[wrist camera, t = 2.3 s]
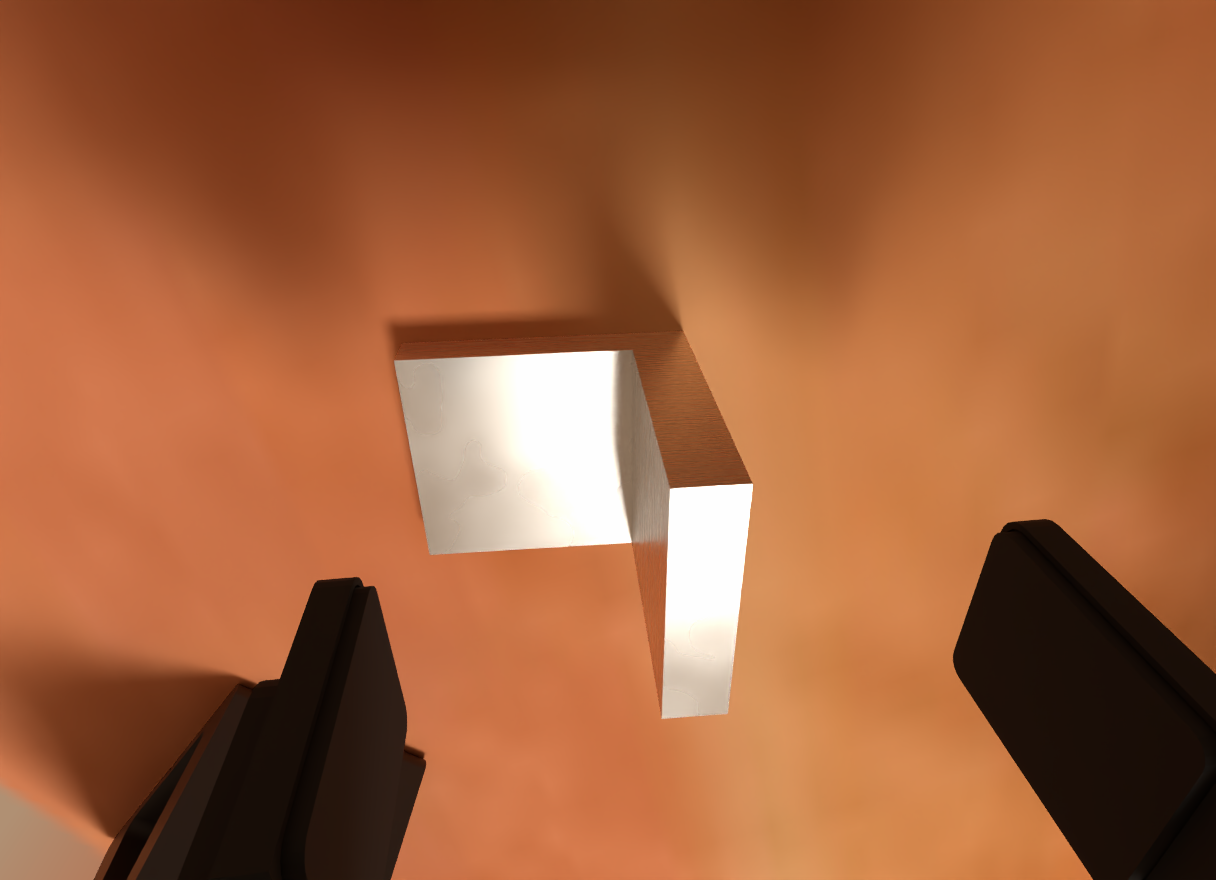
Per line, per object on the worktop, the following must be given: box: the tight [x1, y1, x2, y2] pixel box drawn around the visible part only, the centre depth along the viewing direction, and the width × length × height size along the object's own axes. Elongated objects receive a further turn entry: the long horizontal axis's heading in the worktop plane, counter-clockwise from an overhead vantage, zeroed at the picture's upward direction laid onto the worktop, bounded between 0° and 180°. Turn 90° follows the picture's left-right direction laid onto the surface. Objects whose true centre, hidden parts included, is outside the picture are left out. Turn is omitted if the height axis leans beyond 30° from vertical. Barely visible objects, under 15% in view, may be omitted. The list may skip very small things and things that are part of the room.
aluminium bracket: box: [394, 331, 753, 719], centre depth 14 cm, size 6×5×6 cm
